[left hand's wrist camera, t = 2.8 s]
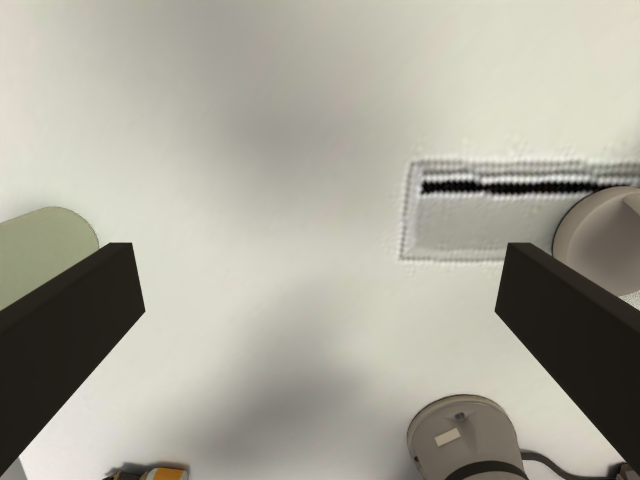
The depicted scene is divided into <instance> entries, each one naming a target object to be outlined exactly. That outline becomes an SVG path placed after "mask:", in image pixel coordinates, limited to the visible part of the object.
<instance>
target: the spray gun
mask: <svg viewBox="0 0 640 480" xmlns="http://www.w3.org/2000/svg"><path fill="white" fill-rule="evenodd" d="M102 480H188V474H187V472H186V471H185V470H177V469H169V468H154V469H153V470H152V471H146V472H145V473H144V474H143V475H142V476H141V477H140V476H137V475H132V474H127V473H122V471H118V472H117V474H115V475H113V476H110V477H107V478H104V479H102Z"/></svg>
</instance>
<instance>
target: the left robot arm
mask: <svg viewBox="0 0 640 480" xmlns="http://www.w3.org/2000/svg"><path fill="white" fill-rule="evenodd" d="M144 312H145V306H144V301H143V296H142V291H141V286H140V281H139V276H138V271H137V266H136V261H135V256H134V251H133V246H132V243H109V244H107V245H105V246H104V247H102V248H101V249H99V250H97V251H96V252H94V253H93V254H91V255H89V256H88V257H86V258H84V259H83V260H81V261H80V262H78V263H76V264H75V265H73V266H72V267H70V268H68V269H67V270H65V271H64V272H62V273H60V274H59V275H57V276H56V277H54V278H52V279H51V280H49V281H47V282H46V283H44V284H43V285H41V286H39V287H38V288H36V289H35V290H33V291H31V292H30V293H28V294H27V295H25V296H23V297H22V298H20V299H19V300H17V301H15V302H14V303H12V304H10V305H9V306H7V307H6V308H4V309H2V310H1V311H0V477H1V476H2V475H3V473H4V472H5V471H6V470H7V469H8V468H9V467H10V465H11V464H12V463H13V462H14V461H15V460H16V459H17V457H18V456H19V455H20V454H21V453H22V452H23V451H24V449H25V448H26V447H27V446H28V445H29V444H30V443H31V441H32V440H33V439H34V438H35V437H36V436H37V435H38V433H39V432H40V431H41V430H42V429H43V428H44V427H45V425H46V424H47V423H48V422H49V421H50V420H51V419H52V417H53V416H54V415H55V414H56V413H57V412H58V411H59V409H60V408H61V407H62V406H63V405H64V404H65V403H66V401H67V400H68V399H69V398H70V397H71V396H72V395H73V393H74V392H75V391H76V390H77V389H78V388H79V387H80V385H81V384H82V383H83V382H84V381H85V380H86V379H87V378H88V376H89V375H90V374H91V373H92V372H93V371H94V370H95V368H96V367H97V366H98V365H99V364H100V363H101V362H102V360H103V359H104V358H105V357H106V356H107V355H108V354H109V352H110V351H111V350H112V349H113V348H114V347H115V346H116V344H117V343H118V342H119V341H120V340H121V339H122V338H123V336H124V335H125V334H126V333H127V332H128V331H129V330H130V328H131V327H132V326H133V325H134V324H135V323H136V322H137V320H138V319H139V318H140V317H141V316H142V315H143V314H144ZM495 312H496V314H497V315H498V316H499V317H500V318H501V319H502V320H503V322H504V323H505V324H506V325H507V326H508V327H509V328H510V330H511V331H512V332H513V333H514V334H515V335H516V336H517V338H518V339H519V340H520V341H521V342H522V343H523V344H524V346H525V347H526V348H527V349H528V350H529V351H530V352H531V354H532V355H533V356H534V357H535V358H536V359H537V360H538V362H539V363H540V364H541V365H542V366H543V367H544V368H545V370H546V371H547V372H548V373H549V374H550V375H551V376H552V378H553V379H554V380H555V381H556V382H557V383H558V384H559V385H560V387H561V388H562V389H563V390H564V391H565V392H566V393H567V395H568V396H569V397H570V398H571V399H572V400H573V401H574V403H575V404H576V405H577V406H578V407H579V408H580V409H581V411H582V412H583V413H584V414H585V415H586V416H587V417H588V419H589V420H590V421H591V422H592V423H593V424H594V425H595V427H596V428H597V429H598V430H599V431H600V432H601V433H602V435H603V436H604V437H605V438H606V439H607V440H608V441H609V443H610V444H611V445H612V446H613V447H614V448H615V449H616V451H617V452H618V453H619V454H620V455H621V456H622V457H623V459H624V460H625V461H626V462H627V463H628V464H629V465H630V467H631V468H632V469H633V470H634V471H635V472H636V473H637V475H638V476H639V477H640V311H639V310H638V309H636V308H634V307H633V306H631V305H630V304H628V303H626V302H625V301H623V300H621V299H620V298H618V297H617V296H615V295H613V294H612V293H610V292H609V291H607V290H605V289H604V288H602V287H601V286H599V285H597V284H596V283H594V282H593V281H591V280H589V279H588V278H586V277H584V276H583V275H581V274H580V273H578V272H576V271H575V270H573V269H572V268H570V267H568V266H567V265H565V264H564V263H562V262H560V261H559V260H557V259H556V258H554V257H552V256H551V255H549V254H547V253H546V252H544V251H543V250H541V249H539V248H538V247H536V246H535V245H533V244H531V243H508V246H507V251H506V256H505V261H504V266H503V271H502V276H501V281H500V286H499V291H498V296H497V301H496V306H495Z"/></svg>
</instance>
